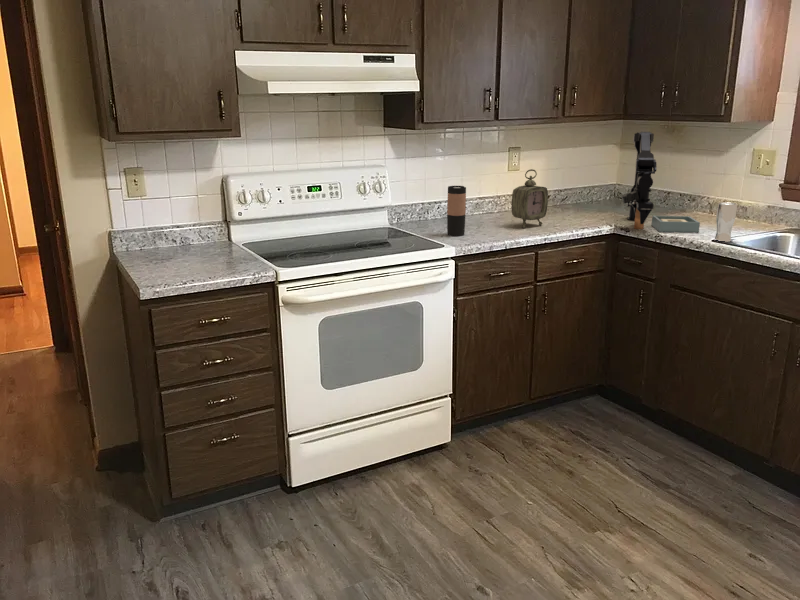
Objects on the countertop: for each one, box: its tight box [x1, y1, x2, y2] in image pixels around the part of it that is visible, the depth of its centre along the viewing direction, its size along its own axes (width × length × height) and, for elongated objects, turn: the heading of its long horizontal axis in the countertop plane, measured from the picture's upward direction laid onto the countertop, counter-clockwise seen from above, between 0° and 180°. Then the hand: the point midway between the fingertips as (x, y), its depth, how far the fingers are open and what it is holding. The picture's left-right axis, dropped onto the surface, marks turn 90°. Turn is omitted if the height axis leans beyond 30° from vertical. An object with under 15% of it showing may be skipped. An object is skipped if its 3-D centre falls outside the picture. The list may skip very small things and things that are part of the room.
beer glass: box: [714, 201, 738, 243], centre depth 272 cm, size 7×7×15 cm
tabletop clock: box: [511, 168, 549, 229], centre depth 302 cm, size 14×9×25 cm, turn 126°
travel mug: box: [446, 185, 467, 237], centre depth 284 cm, size 8×8×20 cm
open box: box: [651, 215, 701, 233], centre depth 297 cm, size 15×16×4 cm
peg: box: [633, 208, 645, 230], centre depth 298 cm, size 4×4×9 cm
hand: (639, 222), depth 298 cm, fingers open, 9 cm apart
